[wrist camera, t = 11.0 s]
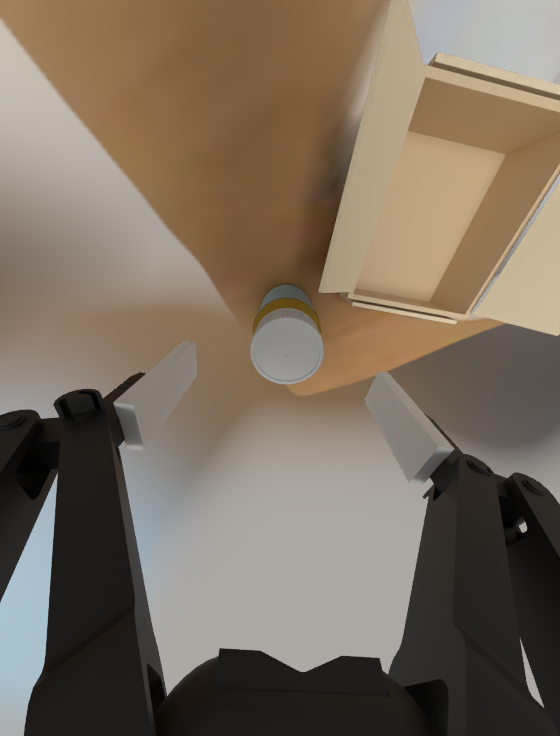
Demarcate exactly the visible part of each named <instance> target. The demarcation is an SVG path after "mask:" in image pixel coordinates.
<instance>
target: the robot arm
mask: <svg viewBox="0 0 560 736" xmlns="http://www.w3.org/2000/svg"><path fill="white" fill-rule="evenodd" d="M196 377H197V366H196V342H190V341H183V342H182V343H181V344H180V345H179V346H177V347H176V348H175V349H174V350H173V351H172V352H170V353H169V354H168V355H167V356H166V357H165V358H164V359H162V360H161V361H160V362H159V363H158V364H157V365H156V366H154V367H153V368H152V369H151V370H150V371H149V372H148V373H141V372H140V373H138V374H135V375H133V376H131V377H129V378H128V379H127V380H126V381H124V382H123V384H121V385H119V386H118V387H117V389H114V390H113V391H112V392H111V393H109V394H108V395H107V396H106V397H105V398H103V399H102V396H101V394H100V392H99V391H97V390H94V389H81V390H76V391H72V392H69V393H67V394H65V395H62V396H61V397H59V398H58V399H57V400H56V401H55V402H54V404H53V405H54V407H55V409H56V411H57V413H58V415H59V418H47V419H41V418H40V416H39V414H38V413H37V412H36V411H34V410H18V411H12V412H9V413H6V414H3V415H0V601H1V599H2V597H3V595H4V592H5V590H6V588H7V585H8V583H9V581H10V579H11V577H12V574H13V572H14V570H15V568H16V565H17V563H18V561H19V559H20V556H21V554H22V552H23V550H24V547H25V545H26V542H27V540H28V538H29V536H30V534H31V531H32V529H33V527H34V524H35V522H36V520H37V518H38V516H39V513H40V511H41V509H42V507H43V504H44V502H45V500H46V498H47V495H48V493H49V491H50V488H51V486H52V484H53V482H54V479H55V477H56V475H57V473H58V479H57V494H56V509H55V524H54V538H53V553H52V568H51V582H50V597H49V611H48V626H47V641H46V655H45V663H44V667H43V671H42V673H41V675H40V677H39V679H38V681H37V682H36V684H35V686H34V687H33V690H32V694H31V697H30V700H29V704H28V709H27V716H26V722H25V730H24V736H560V504H559V503H558V502H557V500H556V499H555V497H554V496H553V495H552V494H551V493H550V491H549V490H548V489H546V488H545V487H544V486H543V485H542V484H541V483H540V482H538V481H536V480H535V479H533V478H531V477H529V476H527V475H524V474H521V473H513V474H512V475H511V476H510V477H509V478H505V477H502V476H499V475H497V474H494V472H493V471H492V470H491V469H490V468H489V467H488V466H487V465H486V464H485V463H484V462H482V461H480V460H479V459H477V458H475V457H473V456H471V455H467V454H463V453H462V452H461V451H460V449H459V448H458V447H457V446H456V445H455V444H454V443H453V442H452V440H451V439H450V438H449V437H448V436H447V435H446V434H444V432H443V430H442V429H440V428H439V426H438V425H437V424H436V423H435V422H434V420H432V419H431V418H430V417H428V416H427V415H426V414H424V413H423V412H422V411H421V410H420V409H419V408H418V406H417V405H416V404H415V403H414V402H413V401H412V400H411V398H410V397H409V396H408V395H407V394H406V393H405V392H404V390H403V389H402V388H401V387H400V386H399V385H398V384H397V382H396V381H395V380H394V379H393V378H392V377H391V375H390V374H389V373H386V372H379V371H378V373H377V375H376V377H375V380H374V381H373V384H372V386H371V388H370V390H369V392H368V394H367V396H366V398H365V403H366V405H367V407H368V408H369V410H370V412H371V414H372V415H373V417H374V419H375V421H376V423H377V425H378V426H379V429H380V430H381V432H382V434H383V436H384V437H385V439H386V441H387V443H388V445H389V447H390V449H391V451H392V452H393V454H394V456H395V458H396V460H397V462H398V463H399V465H400V467H401V469H402V471H403V472H404V474H405V476H406V478H407V480H408V482H409V483H414V484H424V483H425V482H426V481H427V479H428V478H429V477H430V478H431V480H432V481H433V483H434V484H433V486H432V487H431V488H430V489H429V490H428V491H427V492H426V493H425V494H424V496H423V498H424V499H425V498H426V497H427V496H429V498H428V504H427V509H426V515H425V520H424V526H423V531H422V536H421V542H420V547H419V553H418V558H417V563H416V569H415V574H414V580H413V585H412V591H411V596H410V602H409V607H408V612H407V618H406V624H405V629H404V634H403V639H402V643H401V646H400V649H399V650H398V652H397V654H396V656H395V657H394V659H393V661H392V664H391V666H390V670H389V674H386V673H385V672H384V671H382V667H381V663H380V659H379V658H370V657H353V656H352V657H351V656H340V657H338V658H336V659H334V660H332V661H329V662H327V663H325V664H322V665H320V666H318V667H316V668H314V669H311V670H309V671H307V672H299V671H297V670H295V669H293V668H292V667H290V666H288V665H286V664H284V663H282V662H280V661H278V660H277V659H275V658H273V657H271V656H269V655H267V654H265V653H264V652H262V651H254V650H239V649H222V648H220V650H219V656H218V657H216V658H212V659H210V660H208V661H206V662H204V663H203V664H201V665H200V666H198V667H196V668H195V669H194V670H193V671H191V672H190V673H189V674H188V675H186V676H185V677H184V678H183V679H182V680H181V681H180V682H179V683H178V684H177V685H176V686H175V687H174V689H173V690H172V691H171V692H170V693H169V695H168V696H167V693H166V688H165V682H164V677H163V672H162V666H161V662H160V657H159V652H158V647H157V643H156V639H155V636H154V632H153V628H152V623H151V617H150V612H149V607H148V601H147V596H146V591H145V586H144V580H143V574H142V569H141V563H140V558H139V553H138V547H137V542H136V536H135V532H134V526H133V520H132V515H131V510H130V504H129V499H128V493H127V488H126V483H125V477H124V472H123V466H122V461H121V456H120V451H119V448H118V447H119V445H121V443H122V442H123V441H124V440H125V443H126V446H127V448H128V449H137V450H145V448H146V447H147V446H148V444H149V443H150V441H151V440H152V438H153V437H154V436H155V434H156V433H157V431H158V430H159V429H160V427H161V426H162V424H163V423H164V422H165V420H166V419H167V417H168V416H169V415H170V413H171V412H172V410H173V409H174V407H175V406H176V405H177V403H178V402H179V401H180V399H181V398H182V396H183V395H184V394H185V392H186V391H187V389H188V388H189V386H190V385H191V384H192V382H193V381H194V379H195V378H196ZM524 522H526V525H527V531H526V532H524V533H522V532H521V530H520V528H519V525H521V524H522V523H524ZM520 638H521V642H522V644H523V647H524V650H525V653H526V656H527V659H528V662H529V665H530V668H531V670H532V673H533V676H534V679H535V682H536V685H537V688H538V690H539V694H540V697H541V699H542V702H543V705H544V708H545V709H544V708H543V707H542V706H541V705H540V704H539V703H538V702H537V701H536V700H535V699H534V698H533V697H532V695H531V693H530V692H529V689H528V686H527V682H526V677H525V669H524V663H523V656H522V650H521V643H520Z"/></svg>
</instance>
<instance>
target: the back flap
mask: <svg viewBox="0 0 560 736" xmlns="http://www.w3.org/2000/svg"><path fill="white" fill-rule="evenodd" d="M474 314H475V315H479V316H483V317H487V318H490V319H494V320H498V321H502V322H506V323H510V324H513V325H517V326H521V327H525V328H529V329H533V330H536V331H540V332H544V333H548V334H552V335H556V336H558V335H559V334H560V183H559V184H558V186H557V187H556V189H555V190H554V192H553V193H552V195H551V196H550V198H549V199H548V201H547V202H546V204H545V206H544V207H543V209H542V210H541V212H540V213H539V215H538V216H537V218H536V219H535V221H534V223H533V224H532V226H531V227H530V229H529V230H528V232H527V233H526V235H525V236H524V238H523V239H522V241H521V243H520V244H519V246H518V247H517V249H516V250H515V252H514V253H513V255H512V256H511V258H510V259H509V261H508V263H507V264H506V266H505V267H504V269H503V270H502V272H501V273H500V275H499V276H498V278H497V279H496V281H495V283H494V284H493V286H492V287H491V289H490V290H489V292H488V293H487V295H486V296H485V298H484V300H483V301H482V303H481V304H480V306H479V307H478V309H477V310H476V312H475V313H474Z"/></svg>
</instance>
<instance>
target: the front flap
mask: <svg viewBox="0 0 560 736" xmlns="http://www.w3.org/2000/svg"><path fill="white" fill-rule="evenodd" d="M425 76H426V73H425V69H424V65H423V61H422V57H421V53H420V49H419V45H418V41H417V37H416V32H415V28H414V24H413V20H412V16H411V12H410V8H409V4H408V0H391V3H390V7H389V11H388V15H387V19H386V23H385V27H384V31H383V35H382V39H381V43H380V47H379V51H378V55H377V59H376V63H375V67H374V71H373V75H372V79H371V83H370V87H369V91H368V95H367V99H366V103H365V107H364V111H363V115H362V119H361V123H360V127H359V131H358V135H357V139H356V143H355V147H354V151H353V155H352V159H351V163H350V167H349V171H348V175H347V179H346V183H345V187H344V191H343V195H342V199H341V203H340V207H339V211H338V215H337V219H336V223H335V227H334V231H333V235H332V239H331V243H330V247H329V251H328V255H327V259H326V263H325V267H324V271H323V275H322V279H321V283H320V287H319V291H318V292H321V293H338V292H354V290H355V287H356V284H357V281H358V278H359V275H360V272H361V269H362V266H363V263H364V260H365V257H366V254H367V251H368V248H369V245H370V242H371V239H372V236H373V233H374V230H375V227H376V224H377V221H378V218H379V215H380V212H381V209H382V206H383V203H384V200H385V197H386V194H387V191H388V188H389V185H390V182H391V179H392V176H393V173H394V170H395V167H396V164H397V161H398V158H399V155H400V152H401V149H402V146H403V143H404V140H405V137H406V134H407V131H408V128H409V125H410V122H411V119H412V116H413V113H414V109H415V106H416V103H417V100H418V97H419V94H420V91H421V88H422V85H423V82H424V79H425Z"/></svg>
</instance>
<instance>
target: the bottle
mask: <svg viewBox="0 0 560 736" xmlns="http://www.w3.org/2000/svg"><path fill="white" fill-rule="evenodd" d="M323 345H324V344H323V340H322V337H321V328H320V322H319V319H318V317H317V315H316V313H315V311H314V309H313V307H312V305H311V303H310V301H309V299H308V297H307V295H306V294H305V293H304V292H303V291H302V290H301V289H300V288H298V287H296V286H294V285H289V284H283V285H279V286H276V287H274V288H273V289H271V290H270V291H269V292H268V293H267V295H266V296H265V298H264V300H263V302H262V304H261V307H260V309H259V311H258V314H257V316H256V319H255V321H254V324H253V338H252V342H251V346H250V348H251V349H250V352H251V359H252V362H253V364H254V366H255V368H256V369H257V371H258V372H259V373H260V374H261V375H262V376H263V377H265V378H266V379H268V380H270V381H272V382H275V383H279V384H295V383H299V382H302V381H304V380H306V379H308V378H309V377H311V376H312V375H313V374H314V373H315V372H316V371H317V370H318V368H319V366H320V365H321V362H322V360H323V356H324V346H323Z"/></svg>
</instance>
